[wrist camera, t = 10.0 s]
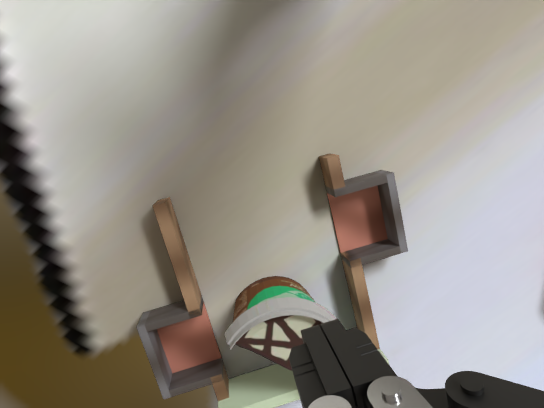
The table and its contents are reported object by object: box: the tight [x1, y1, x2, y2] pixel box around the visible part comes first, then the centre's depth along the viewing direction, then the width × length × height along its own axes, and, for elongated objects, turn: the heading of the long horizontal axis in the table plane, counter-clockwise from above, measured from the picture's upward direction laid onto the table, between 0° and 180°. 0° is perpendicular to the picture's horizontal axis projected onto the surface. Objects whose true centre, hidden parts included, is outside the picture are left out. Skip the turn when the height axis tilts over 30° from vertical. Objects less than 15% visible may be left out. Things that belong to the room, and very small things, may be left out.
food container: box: [224, 276, 336, 371], centre depth 35 cm, size 12×6×10 cm, turn 60°
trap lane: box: [137, 154, 408, 408], centre depth 37 cm, size 23×29×5 cm
